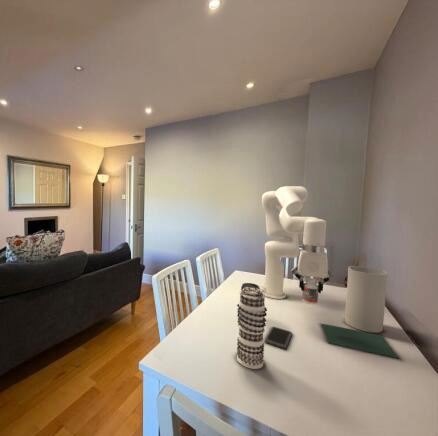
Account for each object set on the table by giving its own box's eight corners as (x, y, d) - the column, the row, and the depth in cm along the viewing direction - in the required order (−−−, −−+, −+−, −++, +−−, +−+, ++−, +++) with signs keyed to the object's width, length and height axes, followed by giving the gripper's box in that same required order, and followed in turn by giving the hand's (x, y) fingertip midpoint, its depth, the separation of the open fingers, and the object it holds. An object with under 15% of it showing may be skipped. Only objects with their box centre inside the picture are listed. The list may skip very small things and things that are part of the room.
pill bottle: (301, 301, 103) (302, 279, 102) (303, 297, 107) (304, 276, 106) (316, 305, 100) (318, 282, 99) (318, 301, 104) (319, 279, 103)
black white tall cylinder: (262, 373, 78) (266, 297, 76) (232, 363, 83) (235, 291, 81) (266, 357, 85) (269, 288, 83) (238, 349, 90) (240, 283, 88)
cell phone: (264, 342, 94) (264, 340, 94) (272, 327, 105) (272, 325, 105) (285, 349, 90) (285, 347, 90) (292, 333, 101) (292, 331, 101)
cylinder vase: (375, 322, 110) (379, 268, 108) (388, 336, 99) (393, 276, 97) (341, 316, 115) (344, 264, 114) (349, 329, 104) (353, 272, 102)
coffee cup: (258, 314, 118) (259, 283, 117) (260, 322, 110) (261, 289, 109) (239, 311, 121) (240, 281, 120) (240, 319, 113) (241, 287, 112)
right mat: (328, 343, 94) (328, 342, 94) (321, 324, 108) (321, 323, 108) (398, 358, 85) (399, 357, 85) (381, 336, 99) (381, 335, 99)
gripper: (289, 248, 102) (287, 290, 104) (341, 252, 94) (337, 298, 96) (289, 245, 108) (286, 284, 110) (337, 249, 100) (333, 291, 102)
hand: (310, 290), depth 103 cm, fingers closed on pill bottle, 5 cm apart
